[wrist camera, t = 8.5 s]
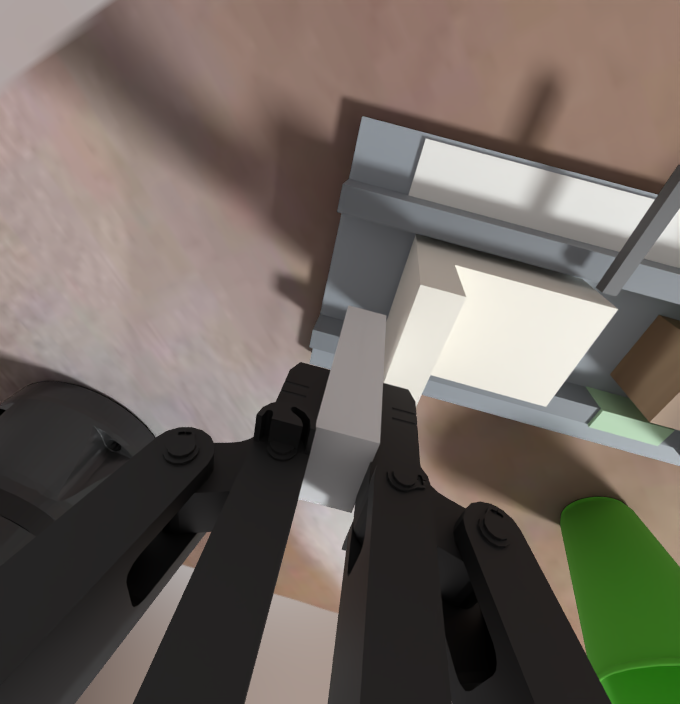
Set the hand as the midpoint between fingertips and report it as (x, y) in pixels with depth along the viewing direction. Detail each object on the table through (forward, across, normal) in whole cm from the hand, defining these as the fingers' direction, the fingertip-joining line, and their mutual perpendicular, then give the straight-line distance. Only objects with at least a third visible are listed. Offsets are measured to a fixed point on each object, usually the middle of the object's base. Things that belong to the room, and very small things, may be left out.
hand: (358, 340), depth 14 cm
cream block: (+6, +6, +3) cm, 9 cm away
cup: (+8, +23, -15) cm, 28 cm away
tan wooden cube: (+6, +17, 0) cm, 18 cm away
